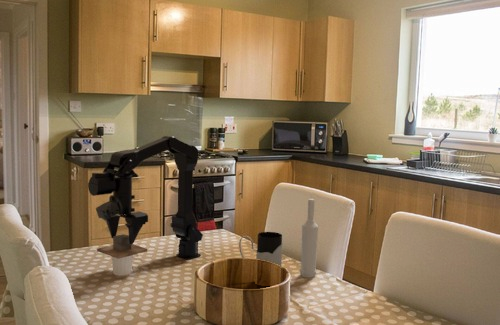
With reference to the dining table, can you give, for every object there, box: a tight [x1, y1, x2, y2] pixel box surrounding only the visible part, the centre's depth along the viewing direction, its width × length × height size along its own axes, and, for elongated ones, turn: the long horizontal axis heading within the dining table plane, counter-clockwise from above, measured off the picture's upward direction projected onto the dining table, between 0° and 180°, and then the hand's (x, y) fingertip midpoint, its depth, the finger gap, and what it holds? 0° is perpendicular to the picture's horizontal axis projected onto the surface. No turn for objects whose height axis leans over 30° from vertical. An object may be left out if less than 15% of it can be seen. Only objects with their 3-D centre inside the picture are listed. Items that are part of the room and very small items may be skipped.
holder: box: [238, 231, 283, 267], centre depth 160 cm, size 9×14×15 cm, turn 72°
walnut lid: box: [96, 233, 148, 259], centre depth 164 cm, size 11×11×5 cm
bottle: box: [299, 198, 319, 279], centre depth 166 cm, size 5×5×25 cm
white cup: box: [111, 255, 134, 277], centre depth 164 cm, size 7×7×7 cm
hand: (122, 241), depth 164 cm, fingers open, 9 cm apart
